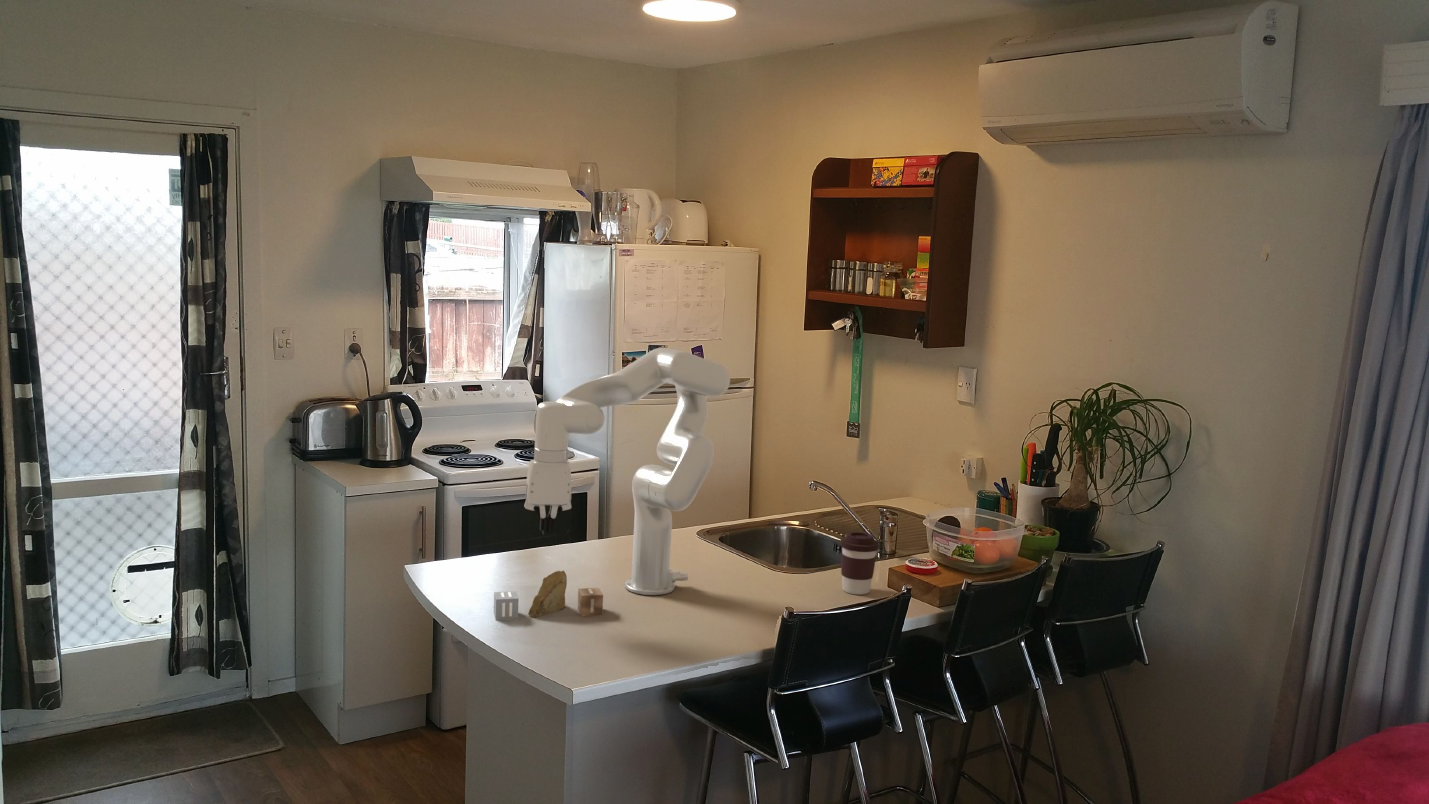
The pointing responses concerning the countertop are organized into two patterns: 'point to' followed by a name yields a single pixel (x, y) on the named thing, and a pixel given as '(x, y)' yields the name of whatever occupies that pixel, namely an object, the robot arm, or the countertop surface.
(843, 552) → the coffee cup
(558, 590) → the rock
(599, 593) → the walnut block
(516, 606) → the grey block
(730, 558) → the countertop surface
